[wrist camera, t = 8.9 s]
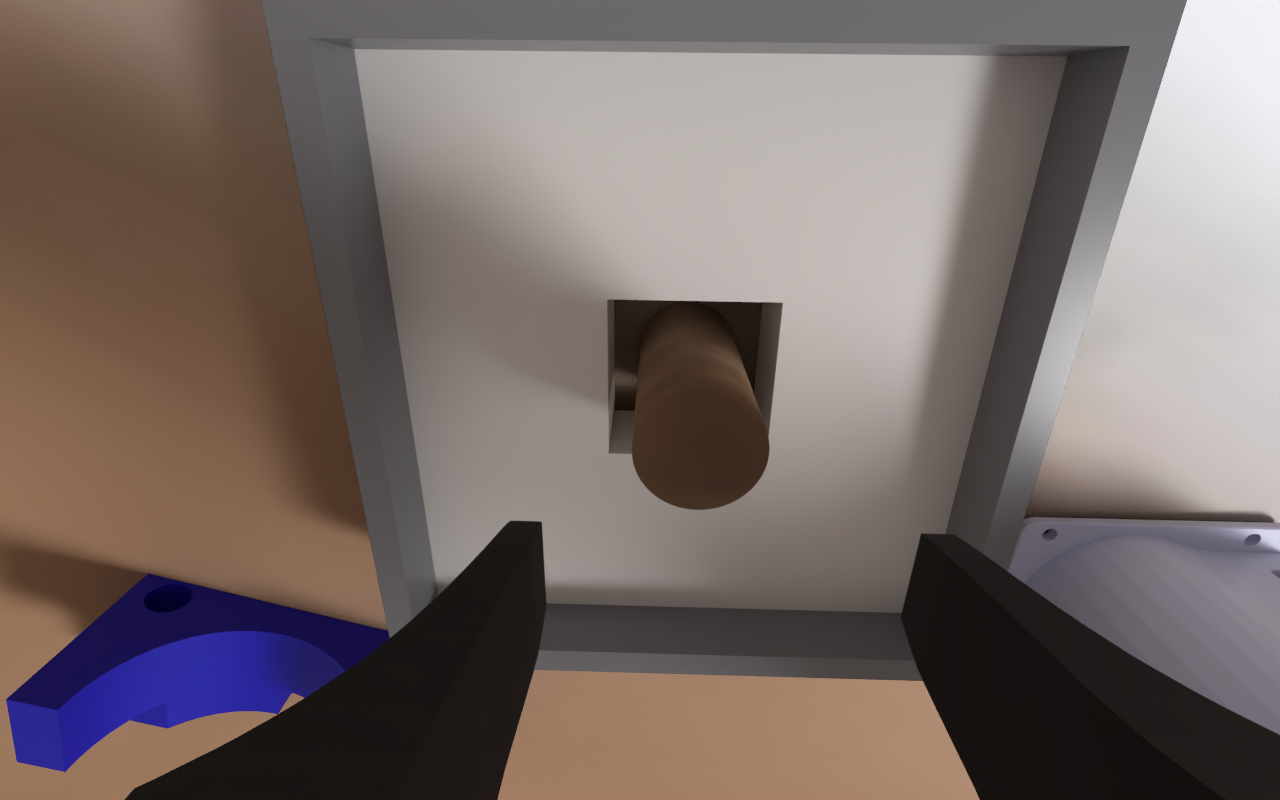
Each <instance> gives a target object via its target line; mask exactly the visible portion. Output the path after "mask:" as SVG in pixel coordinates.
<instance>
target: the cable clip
mask: <svg viewBox="0 0 1280 800" xmlns="http://www.w3.org/2000/svg"><path fill="white" fill-rule="evenodd" d="M389 638H390V637H389V632H388V631H386V630H382V629H378V628H373V627H369V626H365V625H361V624H357V623H353V622H348V621H344V620H340V619H336V618H332V617H327V616H323V615H319V614H315V613H311V612H307V611H302V610H298V609H294V608H290V607H286V606H281V605H277V604H273V603H269V602H265V601H261V600H256V599H252V598H248V597H244V596H240V595H236V594H231V593H227V592H223V591H219V590H215V589H210V588H206V587H202V586H198V585H194V584H190V583H185V582H181V581H177V580H173V579H169V578H164V577H160V576H156V575H152V574H147V575H146V576H145V577H144V578H143V579H142V580H141V581H140V582H138V583H137V584H136V585H135V586H134V587H133V588H132V589H131V590H129V591H128V592H127V593H126V594H125V595H124V596H123V597H121V598H120V599H119V600H118V601H117V602H116V603H115V604H114V605H112V606H111V607H110V608H109V609H108V610H107V611H106V612H104V613H103V614H102V615H101V616H100V617H99V618H98V619H97V620H95V621H94V622H93V623H92V624H91V625H90V626H89V627H88V628H86V629H85V630H84V631H83V632H82V633H81V634H80V635H78V636H77V637H76V638H75V639H74V640H73V641H72V642H71V643H69V644H68V645H67V646H66V647H65V648H64V649H63V650H62V651H60V652H59V653H58V654H57V655H56V656H55V657H54V658H52V659H51V660H50V661H49V662H48V663H47V664H46V665H45V666H43V667H42V668H41V669H40V670H39V671H38V672H37V673H35V674H34V675H33V676H32V677H31V678H30V679H29V680H28V681H26V682H25V683H24V684H23V685H22V686H21V687H20V688H19V689H17V690H16V691H15V692H14V693H13V694H12V695H11V696H9V697H8V698H7V699H6V701H7V706H8V712H9V718H10V724H11V730H12V735H13V741H14V747H15V753H16V759H17V762H20V763H25V764H30V765H35V766H40V767H44V768H49V769H54V770H59V771H64V772H65V771H66V770H67V769H68V768H69V767H70V766H71V765H72V764H73V763H74V762H75V761H76V760H77V759H78V758H79V757H80V756H82V755H83V754H84V753H85V752H86V751H87V750H88V749H90V748H91V747H92V746H93V745H94V744H96V743H97V742H98V741H100V740H101V739H102V738H103V737H105V736H106V735H107V734H109V733H110V732H112V731H113V730H115V729H116V728H118V727H119V726H121V725H122V724H124V723H126V722H127V721H129V720H131V721H136V722H141V723H145V724H150V725H155V726H159V727H164V728H170V727H172V726H175V725H178V724H180V723H183V722H186V721H189V720H193V719H196V718H200V717H203V716H208V715H213V714H218V713H225V712H234V711H261V712H269V713H275V714H278V713H279V712H280V710H281V709H282V707H283V705H284V704H285V702H286V701H287V699H288V698H289V696H290V695H291V693H295V694H298V695H300V696H302V697H304V698H306V697H307V696H309V695H310V694H312V693H313V692H315V691H316V690H318V689H319V688H321V687H322V686H324V685H325V684H327V683H328V682H330V681H331V680H333V679H334V678H336V677H337V676H339V675H340V674H342V673H343V672H345V671H346V670H348V669H349V668H351V667H352V666H354V665H355V664H357V663H358V662H359V661H361V660H362V659H364V658H365V657H366V656H368V655H369V654H370V653H371V652H373V651H374V650H375V649H377V648H378V647H379V646H381V645H382V644H383V643H384V642H386V641H387V640H388V639H389Z"/></svg>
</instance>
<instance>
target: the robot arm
mask: <svg viewBox="0 0 1280 800" xmlns="http://www.w3.org/2000/svg"><path fill="white" fill-rule="evenodd" d="M1048 529H1050V531H1049V532H1047V533H1046V534H1043V533H1044V532H1045V531H1046V530H1048ZM545 612H546V588H545V570H544V552H543V534H542V522H541V521H509V522H508V523H507V524H506V525H505V526H504V527H503V528H502V529H501V530H500V531H499V532H498V533H497V535H496V536H495V537H494V538H493V539H492V540H491V541H490V542H489V543H488V545H487V546H486V547H485V548H484V549H483V550H482V551H481V552H480V553H479V554H478V555H477V556H476V558H475V559H474V560H473V561H472V562H471V563H470V564H469V565H468V566H467V567H466V568H465V569H464V570H463V571H462V572H461V573H460V574H459V575H458V576H457V577H456V578H455V579H454V580H453V581H452V582H451V583H450V584H449V585H448V586H447V587H446V588H445V589H444V590H443V591H442V592H441V593H440V594H439V595H438V596H437V597H436V598H435V599H434V600H433V601H432V602H430V603H429V604H428V605H427V606H426V607H425V608H424V609H423V610H422V611H421V612H419V613H418V614H417V615H416V616H415V617H414V618H413V619H412V620H411V621H410V622H408V623H407V624H406V625H405V626H404V627H403V628H401V629H400V630H399V631H398V632H397V633H395V634H394V635H393V636H392V637H391V638H389V639H388V640H387V641H386V642H384V643H383V644H382V645H381V646H379V647H378V648H377V649H375V650H374V651H373V652H371V653H370V654H369V655H368V656H366V657H365V658H364V659H362V660H361V661H359V662H358V663H357V664H355V665H354V666H352V667H351V668H349V669H348V670H346V671H345V672H343V673H342V674H340V675H339V676H337V677H336V678H334V679H333V680H331V681H330V682H328V683H327V684H325V685H324V686H322V687H321V688H319V689H318V690H316V691H315V692H313V693H312V694H310V695H309V696H307V697H306V698H304V699H303V700H301V701H300V702H298V703H296V704H295V705H293V706H291V707H290V708H288V709H286V710H285V711H283V712H281V713H280V714H278V715H276V716H275V717H273V718H271V719H269V720H268V721H266V722H264V723H262V724H261V725H259V726H257V727H255V728H253V729H252V730H250V731H248V732H246V733H244V734H243V735H241V736H239V737H237V738H235V739H234V740H232V741H230V742H228V743H226V744H224V745H222V746H220V747H219V748H217V749H215V750H213V751H211V752H209V753H206V754H204V755H202V756H200V757H198V758H196V759H194V760H192V761H190V762H188V763H186V764H184V765H182V766H180V767H178V768H176V769H174V770H172V771H170V772H168V773H166V774H164V775H162V776H160V777H158V778H156V779H154V780H152V781H150V782H147V783H145V784H143V785H141V786H139V787H137V788H134V790H133V791H132V792H131V793H130V794H129V795H128V796H127V798H126V799H125V800H497V799H498V795H499V791H500V787H501V783H502V779H503V775H504V771H505V767H506V764H507V760H508V757H509V753H510V750H511V747H512V743H513V740H514V736H515V733H516V730H517V726H518V723H519V719H520V716H521V713H522V709H523V706H524V702H525V699H526V696H527V692H528V689H529V685H530V682H531V678H532V675H533V671H534V668H535V664H536V661H537V657H538V653H539V647H540V642H541V636H542V630H543V624H544V618H545ZM901 620H902V623H903V627H904V630H905V633H906V636H907V639H908V643H909V646H910V649H911V652H912V654H913V657H914V660H915V663H916V666H917V669H918V671H919V673H920V675H921V677H922V680H923V682H924V684H925V686H926V688H927V690H928V692H929V694H930V697H931V699H932V701H933V703H934V705H935V707H936V709H937V711H938V713H939V715H940V717H941V719H942V721H943V724H944V726H945V728H946V730H947V732H948V734H949V736H950V738H951V740H952V742H953V744H954V746H955V748H956V750H957V752H958V754H959V756H960V759H961V761H962V763H963V765H964V767H965V769H966V771H967V773H968V775H969V777H970V779H971V781H972V783H973V785H974V787H975V790H976V792H977V794H978V796H979V799H980V800H1280V523H1262V522H1220V521H1178V520H1136V519H1094V518H1053V517H1030V518H1026V519H1024V520H1023V523H1022V526H1021V529H1020V532H1019V536H1018V539H1017V542H1016V545H1015V548H1014V551H1013V555H1012V558H1011V561H1010V564H1009V567H1008V571H1006V570H1005V569H1004V568H1002V567H1001V566H999V565H998V564H997V563H995V562H994V561H992V560H991V559H990V558H988V557H987V556H985V555H984V554H983V553H981V552H980V551H978V550H977V549H975V548H974V547H973V546H971V545H970V544H968V543H967V542H965V541H964V540H962V539H960V538H959V537H957V536H956V535H954V534H925V533H921V536H920V540H919V544H918V548H917V552H916V556H915V560H914V565H913V569H912V573H911V577H910V581H909V585H908V589H907V593H906V597H905V602H904V606H903V610H902V614H901Z"/></svg>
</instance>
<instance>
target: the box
mask: <svg viewBox="0 0 1280 800" xmlns="http://www.w3.org/2000/svg"><path fill="white" fill-rule="evenodd" d="M1186 1H1187V0H261V2H262V7H263V12H264V16H265V21H266V26H267V31H268V36H269V41H270V46H271V51H272V56H273V61H274V66H275V71H276V76H277V81H278V86H279V91H280V96H281V101H282V106H283V111H284V116H285V121H286V126H287V131H288V136H289V141H290V146H291V150H292V155H293V160H294V165H295V170H296V175H297V180H298V185H299V190H300V195H301V200H302V205H303V210H304V215H305V220H306V225H307V230H308V235H309V240H310V245H311V250H312V255H313V260H314V265H315V270H316V275H317V280H318V284H319V289H320V294H321V299H322V304H323V309H324V314H325V319H326V324H327V329H328V334H329V339H330V344H331V349H332V354H333V359H334V364H335V369H336V374H337V379H338V384H339V389H340V394H341V399H342V404H343V409H344V413H345V418H346V423H347V428H348V433H349V438H350V443H351V448H352V453H353V458H354V463H355V468H356V473H357V478H358V483H359V488H360V493H361V498H362V503H363V508H364V513H365V518H366V523H367V528H368V533H369V538H370V543H371V547H372V552H373V557H374V562H375V567H376V572H377V577H378V582H379V587H380V592H381V597H382V602H383V607H384V612H385V617H386V622H387V627H388V632H389V637H390V638H391V637H392V636H393V635H394V634H395V633H397V632H398V631H399V630H400V629H401V628H403V627H404V626H405V625H406V624H407V623H408V622H410V621H411V620H412V619H413V618H414V617H415V616H416V615H417V614H418V613H419V612H421V611H422V610H423V609H424V608H425V607H426V606H427V605H428V604H429V603H430V602H432V601H433V600H434V599H435V598H436V597H437V596H438V595H439V594H440V593H441V592H442V591H443V590H444V589H445V588H446V587H447V586H448V585H449V584H450V583H451V582H452V581H453V580H454V579H455V578H456V577H457V576H458V575H459V574H460V573H461V572H462V571H463V570H464V569H465V568H466V567H467V566H468V565H469V564H470V563H471V562H472V561H473V560H474V559H475V558H476V556H477V555H478V554H479V553H480V552H481V551H482V550H483V549H484V548H485V547H486V546H487V545H488V543H489V542H490V541H491V540H492V539H493V538H494V537H495V536H496V535H497V533H498V532H499V531H500V530H501V529H502V528H503V527H504V526H505V525H506V524H507V523H508V522H509V521H541V522H542V534H543V552H544V570H545V588H546V612H545V618H544V624H543V630H542V636H541V642H540V647H539V653H538V657H537V661H536V664H535V668H534V670H563V671H597V672H632V673H667V674H702V675H736V676H771V677H806V678H840V679H875V680H910V681H923V680H922V677H921V675H920V673H919V671H918V669H917V666H916V663H915V660H914V657H913V654H912V652H911V649H910V646H909V643H908V639H907V636H906V633H905V630H904V627H903V623H902V620H901V614H902V610H903V606H904V602H905V597H906V593H907V589H908V585H909V581H910V577H911V573H912V569H913V565H914V560H915V556H916V552H917V548H918V544H919V540H920V536H921V533H925V534H954V535H956V536H957V537H959V538H960V539H962V540H964V541H965V542H967V543H968V544H970V545H971V546H973V547H974V548H975V549H977V550H978V551H980V552H981V553H983V554H984V555H985V556H987V557H988V558H990V559H991V560H992V561H994V562H995V563H997V564H998V565H999V566H1001V567H1002V568H1004V569H1005V570H1006V571H1008V567H1009V564H1010V561H1011V558H1012V555H1013V551H1014V548H1015V545H1016V542H1017V539H1018V536H1019V532H1020V529H1021V526H1022V523H1023V520H1024V516H1025V513H1026V510H1027V507H1028V504H1029V501H1030V497H1031V494H1032V491H1033V488H1034V485H1035V481H1036V478H1037V475H1038V472H1039V469H1040V466H1041V462H1042V459H1043V456H1044V453H1045V450H1046V447H1047V443H1048V440H1049V437H1050V434H1051V431H1052V427H1053V424H1054V421H1055V418H1056V415H1057V412H1058V408H1059V405H1060V402H1061V399H1062V396H1063V392H1064V389H1065V386H1066V383H1067V380H1068V377H1069V373H1070V370H1071V367H1072V364H1073V361H1074V358H1075V354H1076V351H1077V348H1078V345H1079V342H1080V338H1081V335H1082V332H1083V329H1084V326H1085V323H1086V319H1087V316H1088V313H1089V310H1090V307H1091V303H1092V300H1093V297H1094V294H1095V291H1096V288H1097V284H1098V281H1099V278H1100V275H1101V272H1102V268H1103V265H1104V262H1105V259H1106V256H1107V253H1108V249H1109V246H1110V243H1111V240H1112V237H1113V234H1114V230H1115V227H1116V224H1117V221H1118V218H1119V214H1120V211H1121V208H1122V205H1123V202H1124V199H1125V195H1126V192H1127V189H1128V186H1129V183H1130V179H1131V176H1132V173H1133V170H1134V167H1135V164H1136V160H1137V157H1138V154H1139V151H1140V148H1141V144H1142V141H1143V138H1144V135H1145V132H1146V129H1147V125H1148V122H1149V119H1150V116H1151V113H1152V110H1153V106H1154V103H1155V100H1156V97H1157V94H1158V90H1159V87H1160V84H1161V81H1162V78H1163V75H1164V71H1165V68H1166V65H1167V62H1168V59H1169V55H1170V52H1171V49H1172V46H1173V43H1174V40H1175V36H1176V33H1177V30H1178V27H1179V24H1180V20H1181V17H1182V14H1183V11H1184V8H1185V5H1186ZM615 300H662V301H719V302H762V312H761V323H760V333H759V344H758V355H757V365H756V376H755V387H754V396H755V399H756V402H757V405H758V408H759V410H760V413H761V416H762V419H763V422H764V424H765V427H766V430H767V434H768V437H769V445H770V447H769V458H768V463H767V466H766V468H765V471H764V473H763V475H762V477H761V478H760V479H759V481H758V482H757V484H756V485H755V486H754V487H753V488H752V489H751V490H750V491H749V492H748V493H747V494H745V495H744V496H742V497H741V498H740V499H738V500H736V501H734V502H732V503H730V504H727V505H725V506H722V507H718V508H714V509H707V510H691V509H685V508H680V507H676V506H673V505H671V504H668V503H666V502H664V501H662V500H661V499H659V498H657V497H656V496H655V495H654V494H652V493H651V492H650V491H649V490H648V489H647V488H646V487H645V486H644V484H643V483H642V482H641V480H640V478H639V477H638V475H637V473H636V470H635V467H634V464H633V459H632V442H633V430H634V417H635V411H625V410H615Z"/></svg>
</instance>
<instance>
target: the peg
mask: <svg viewBox="0 0 1280 800" xmlns="http://www.w3.org/2000/svg"><path fill="white" fill-rule="evenodd" d="M769 447H770V445H769V437H768V434H767V430H766V427H765V424H764V422H763V419H762V416H761V413H760V410H759V408H758V405H757V402H756V399H755V396H754V393H753V391H752V388H751V385H750V382H749V379H748V377H747V374H746V371H745V368H744V365H743V362H742V360H741V357H740V354H739V351H738V348H737V345H736V343H735V340H734V337H733V334H732V331H731V329H730V327H729V325H728V323H727V322H726V320H725V319H724V318H723V316H722V315H720V314H719V313H718V312H717V311H716V310H714V309H713V308H711V307H709V306H707V305H704V304H701V303H696V302H680V303H675V304H672V305H669V306H667V307H665V308H663V309H662V310H660V311H659V312H657V313H656V314H655V315H654V316H653V317H652V318H651V319H650V321H649V322H648V323H647V325H646V327H645V329H644V331H643V334H642V338H641V344H640V357H639V369H638V381H637V393H636V405H635V417H634V430H633V442H632V459H633V464H634V467H635V470H636V473H637V475H638V477H639V478H640V480H641V482H642V483H643V484H644V486H645V487H646V488H647V489H648V490H649V491H650V492H651V493H652V494H654V495H655V496H656V497H657V498H659V499H661V500H662V501H664V502H666V503H668V504H671V505H673V506H676V507H680V508H685V509H691V510H707V509H714V508H718V507H722V506H725V505H727V504H730V503H732V502H734V501H736V500H738V499H740V498H741V497H742V496H744V495H745V494H747V493H748V492H749V491H750V490H751V489H752V488H753V487H754V486H755V485H756V484H757V482H758V481H759V479H760V478H761V477H762V475H763V473H764V471H765V468H766V466H767V463H768V458H769Z"/></svg>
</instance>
